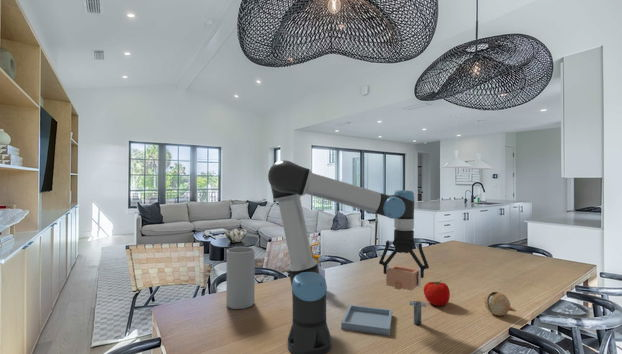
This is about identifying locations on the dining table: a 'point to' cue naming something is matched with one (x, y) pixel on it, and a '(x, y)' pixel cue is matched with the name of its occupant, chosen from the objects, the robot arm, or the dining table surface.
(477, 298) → the dining table surface
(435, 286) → the tomato
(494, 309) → the onion
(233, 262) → the cylinder vase
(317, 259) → the soap bottle
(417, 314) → the grey t-shaped piece
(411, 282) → the ring frame
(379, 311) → the tray
